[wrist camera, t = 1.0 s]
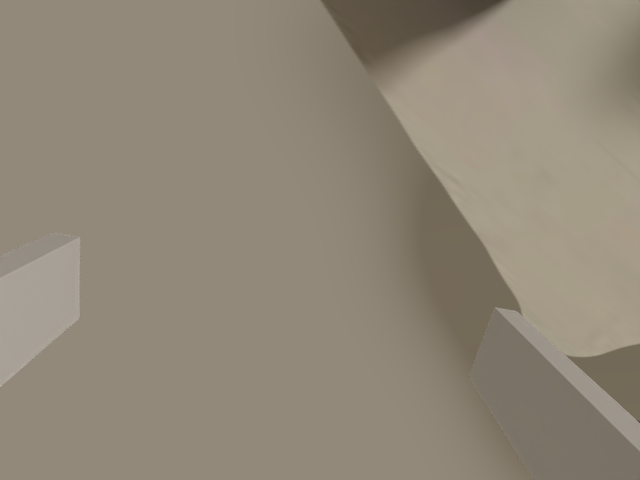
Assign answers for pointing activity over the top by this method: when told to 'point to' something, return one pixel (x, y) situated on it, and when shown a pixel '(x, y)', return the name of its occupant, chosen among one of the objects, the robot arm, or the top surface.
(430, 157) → the top surface
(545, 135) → the top surface
